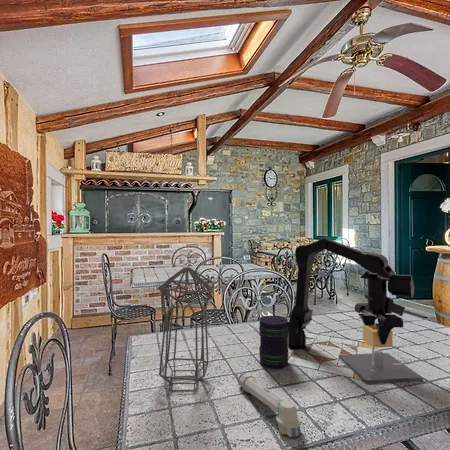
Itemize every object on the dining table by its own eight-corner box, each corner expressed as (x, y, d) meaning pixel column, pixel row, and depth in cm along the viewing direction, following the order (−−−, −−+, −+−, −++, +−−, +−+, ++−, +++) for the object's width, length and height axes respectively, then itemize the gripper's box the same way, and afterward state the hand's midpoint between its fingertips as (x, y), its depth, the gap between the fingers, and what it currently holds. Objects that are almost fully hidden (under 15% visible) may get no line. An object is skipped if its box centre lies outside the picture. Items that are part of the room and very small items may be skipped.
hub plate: (365, 383, 92) (365, 365, 92) (338, 357, 110) (338, 342, 110) (423, 380, 93) (423, 362, 93) (387, 355, 111) (387, 340, 111)
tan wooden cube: (380, 339, 105) (380, 323, 105) (392, 346, 99) (392, 329, 99) (362, 340, 105) (362, 323, 105) (373, 347, 98) (373, 330, 98)
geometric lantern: (164, 371, 100) (167, 263, 101) (212, 373, 100) (215, 264, 100) (151, 397, 85) (154, 269, 85) (208, 400, 84) (211, 271, 85)
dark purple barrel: (256, 367, 103) (255, 322, 103) (262, 355, 112) (262, 314, 112) (286, 371, 100) (285, 325, 100) (290, 359, 109) (290, 316, 109)
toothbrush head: (251, 370, 93) (304, 402, 70) (252, 394, 92) (307, 433, 69) (235, 374, 90) (285, 407, 68) (236, 398, 90) (288, 440, 67)
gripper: (420, 299, 93) (420, 351, 93) (383, 286, 112) (383, 330, 112) (384, 300, 92) (385, 352, 92) (353, 287, 111) (354, 331, 111)
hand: (377, 340), depth 102 cm, fingers closed on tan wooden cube, 6 cm apart
